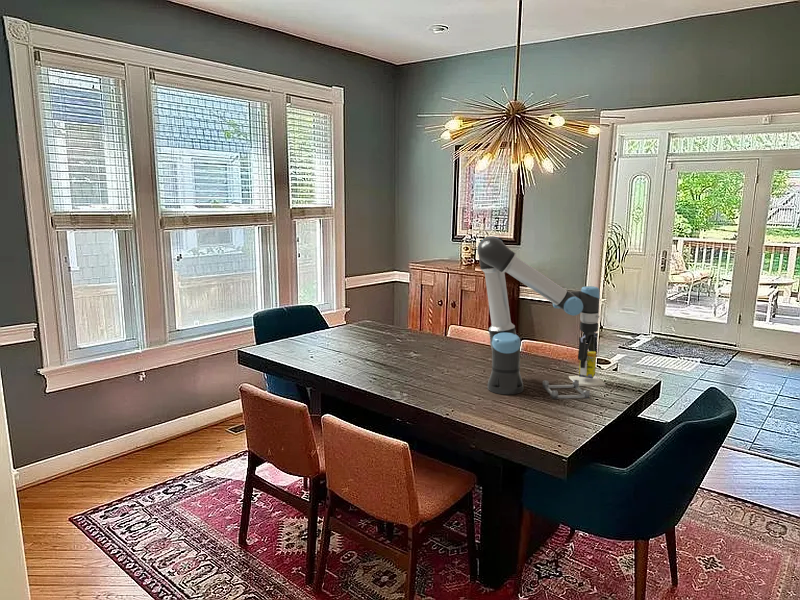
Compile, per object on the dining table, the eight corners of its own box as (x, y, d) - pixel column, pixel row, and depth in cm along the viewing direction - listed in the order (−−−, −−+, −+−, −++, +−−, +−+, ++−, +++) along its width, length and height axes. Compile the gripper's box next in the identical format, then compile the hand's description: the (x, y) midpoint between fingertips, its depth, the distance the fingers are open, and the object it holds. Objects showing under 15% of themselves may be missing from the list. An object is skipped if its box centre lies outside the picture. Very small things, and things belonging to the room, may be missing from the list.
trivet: (577, 386, 237) (577, 384, 237) (568, 377, 249) (568, 376, 249) (605, 385, 238) (605, 383, 237) (595, 377, 249) (595, 375, 249)
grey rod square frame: (552, 399, 222) (552, 392, 221) (542, 387, 237) (542, 380, 236) (590, 398, 222) (590, 391, 221) (577, 386, 237) (577, 379, 237)
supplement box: (578, 376, 242) (579, 352, 240) (581, 373, 247) (582, 349, 245) (592, 378, 239) (593, 354, 237) (595, 375, 244) (596, 351, 242)
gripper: (587, 326, 229) (585, 379, 233) (607, 319, 243) (604, 369, 247) (570, 324, 234) (568, 376, 238) (591, 317, 249) (588, 366, 252)
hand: (587, 372), depth 243 cm, fingers closed on supplement box, 7 cm apart
